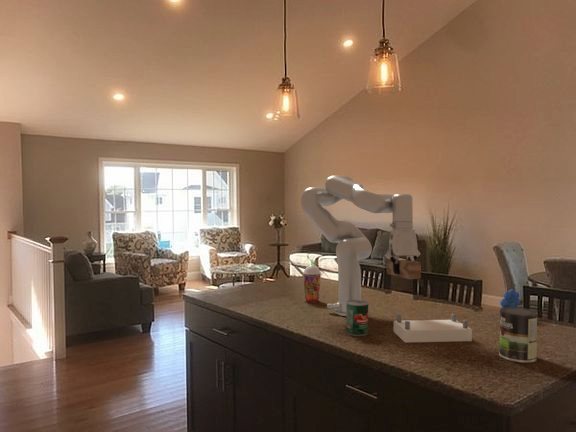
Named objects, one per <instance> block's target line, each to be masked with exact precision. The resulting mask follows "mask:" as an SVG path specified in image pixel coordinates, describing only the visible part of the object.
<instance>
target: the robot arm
mask: <svg viewBox="0 0 576 432" xmlns="http://www.w3.org/2000/svg"><path fill="white" fill-rule="evenodd" d="M342 200H344V201H348V202H350V203H352V205H354V206H355V207H357V208H360V209H362V210H365V211H367V212H369V213H372V214H392V223H389V227H390V228H392V229H391V231H390V235H389V243H388V245H389V247H388V250H387V251H386V252H385V257H386V259H387V258H389V260H390V261H391V262H392V263H393V272H394V274H399V264H398V261H399V258H400V257H406V260H411V261H416V260H417V258H418V257H419V256H420V255H421V252H420V250H419V249H418V240H417V233H416V230H415V229H414V228H413V227H414V224H413V223H414V222H413V220H414V219H413V218H414V217H413V213H414V212H413V208H414V207H413V196H412V195H411V194H410V193H406V194H405V193H400V194H399V193H397V194H386V193H374V192H371V191H369V190H366V189H365V188H364V185H363V184H362V183H360V182H357V181H354V180H353V178H351V177H350V176H348V175H335V174H334V175H331V176H328V177H327V179H326V180H325V183H324V187H323V186H320V187H319V186H312V187H307V188H306V189H304V191H303V192H302V194H301V197H300V205H301V208H302V211H303V213H304V214H305V215H306V217H307V218H308V219H309V221H311V222H312V224H314V226H316V228H317V229H318V230H319V231H320V233H321V234H322V235H323V237H324V238H325V239H326V240H327V241H328V242H330V243H332V244H337V245H336V247H335V255H336V260H337V274H338V275H337V278H338V279H337V280H338V282H337V284H338V285H337V289H338V290H337V292H338V293H337V294H338V295H337V297H338V299H337V301H336V302H334V303H327V304H326V309H331V310H334V314H335V315H337V316H343V317H346V302H347V301H351V300H361V301H362V272H361V271H362V269H361V265H360V263H359V261H361V260H366V259H367V258H369V257H370V256H371V255H372V252H373V251H372V250H373V247H372V243H371V242H370V240H369V239H368V238H367V237H366V236H365V234H364V233H363V232H362V231H361V230H360V229H359V228H358V227H357V226H356V225H355V224H354V223H353V222H351V221H349V220H338V219H337V218H335V217H334V215H333V214H332V213H331V212H330V211H329V210H327V208H324V207H329V206H332V205H334V204H336V203H338V202H340V201H342Z"/></svg>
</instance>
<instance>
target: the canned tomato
mask: <svg viewBox="0 0 576 432" xmlns="http://www.w3.org/2000/svg"><path fill="white" fill-rule="evenodd" d="M345 317H346V319H345V320H346V325H345V326H346V327H345V328H346V329H345V330H346V331H345V332H346V334H347V335H349V336H354V337H364V336H367V335H368V334H369V302H368V301H366V300H362V299H361V300H351V301H347V302H346V316H345Z"/></svg>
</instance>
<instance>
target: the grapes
mask: <svg viewBox="0 0 576 432" xmlns="http://www.w3.org/2000/svg"><path fill="white" fill-rule="evenodd" d="M502 295H503V298H502V299H501V300H500V301H499V304H500V306H501V307H500V308H499V311H500V309H501V308H505V307H517V308H519V307H518V306H520V305H521V300H520V299H519V297H520V293H519V291H516V290H515V289H513V288H510V289H509V290H508V291H505V292H504V293H503V294H502Z"/></svg>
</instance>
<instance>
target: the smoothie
mask: <svg viewBox="0 0 576 432" xmlns="http://www.w3.org/2000/svg"><path fill="white" fill-rule="evenodd" d="M310 263H311V264H310V265H307V266H306V267H305V269H304V271H303V273H302V274H303V285H304V286H303V287H304V288H303V289H304V299H305V302H307V303H318V302H319V299H320V290H321V288H320V287H321V274H322V272H321V271H320V268H319V267H318V266H316V265H315V264H313V263H314V259H313V258H311V261H310Z"/></svg>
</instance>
